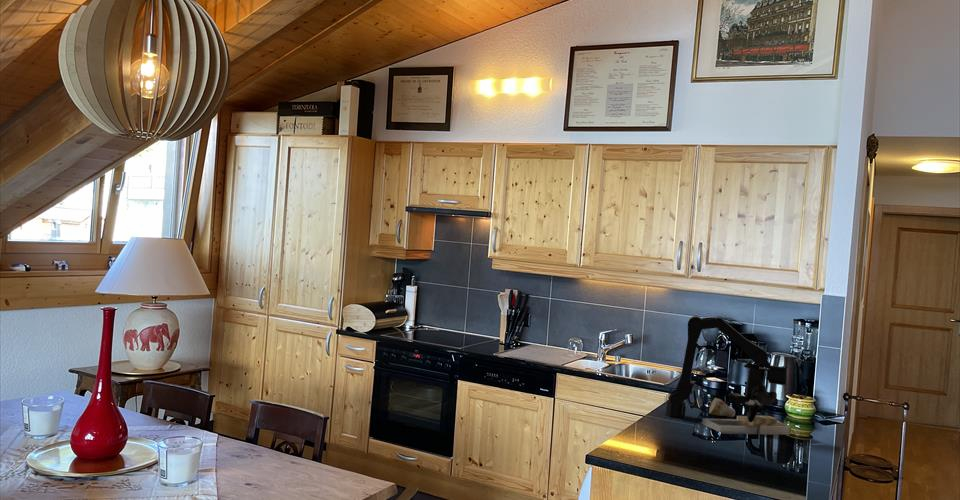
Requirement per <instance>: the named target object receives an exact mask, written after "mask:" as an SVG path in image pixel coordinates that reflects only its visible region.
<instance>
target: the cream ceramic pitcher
mask: <svg viewBox="0 0 960 500" xmlns="http://www.w3.org/2000/svg"><path fill="white" fill-rule="evenodd" d="M708 410H709V411H708V414H709V415H713V416H719V417H721V416H722V417H729V418H734V417H735V415H736V410H735V409H734V407H733V408H732V407H731V406H729V405H728V404H727V403H725V402H724V401H723V400H722V399H720V398H718V397H714V399H713V400H712V401H711V403H710V406H709V409H708Z"/></svg>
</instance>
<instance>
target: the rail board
mask: <svg viewBox="0 0 960 500" xmlns="http://www.w3.org/2000/svg"><path fill="white" fill-rule="evenodd" d="M700 424H701V425H703V426H705V427H708V428H710V429H713V430H714V431H716V432H719V433H721V434H722V435H723V434H726V435H727V434H728V435H729V434H731V435H739V434H740V435H774V436H775V435H776V436H779V435H781V436H782V435H783V436H791V433H792V425H791V426H790V425H788V424H785V423H783V422H781V421H778V420H777V426H762V425H760V430H759V431H758V427H756V426H748V425H749V421H748V418H747V415H736V419H735V418H734V419H733V418H702V421H701V422H700Z"/></svg>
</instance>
